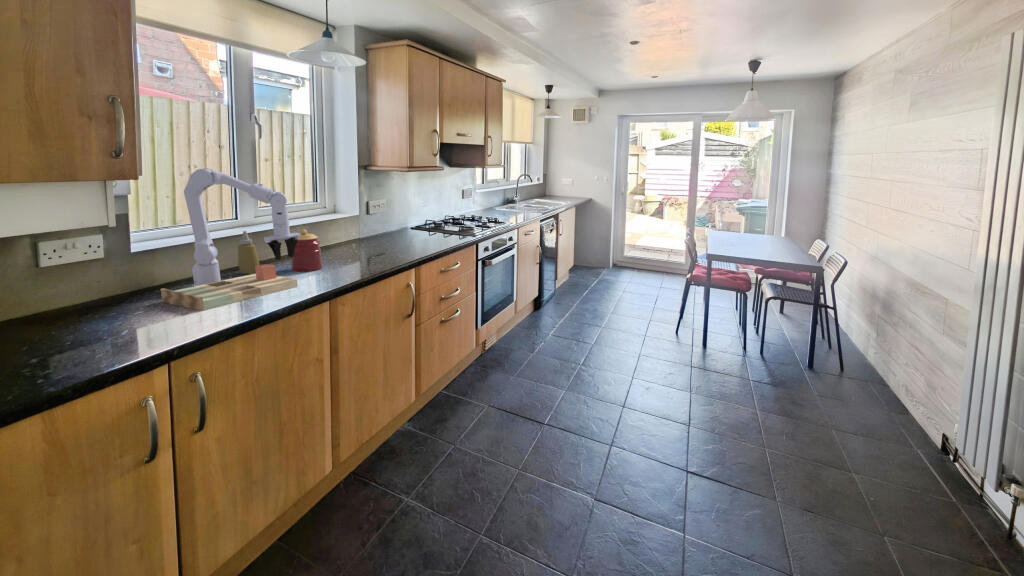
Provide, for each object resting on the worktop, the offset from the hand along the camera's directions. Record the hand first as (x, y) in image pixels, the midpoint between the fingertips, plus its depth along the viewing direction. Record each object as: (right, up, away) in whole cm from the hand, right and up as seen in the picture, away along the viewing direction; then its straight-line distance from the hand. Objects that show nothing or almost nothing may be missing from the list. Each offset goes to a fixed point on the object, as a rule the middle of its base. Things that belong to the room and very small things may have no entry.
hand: (284, 258), depth 198 cm
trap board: (-10, -14, -16) cm, 24 cm away
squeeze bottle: (-22, -6, +16) cm, 28 cm away
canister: (-1, -4, +25) cm, 25 cm away
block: (-4, -8, -6) cm, 11 cm away
